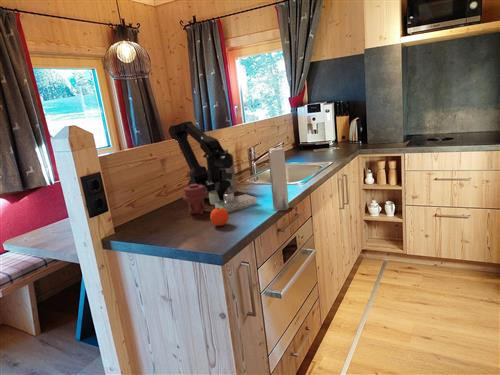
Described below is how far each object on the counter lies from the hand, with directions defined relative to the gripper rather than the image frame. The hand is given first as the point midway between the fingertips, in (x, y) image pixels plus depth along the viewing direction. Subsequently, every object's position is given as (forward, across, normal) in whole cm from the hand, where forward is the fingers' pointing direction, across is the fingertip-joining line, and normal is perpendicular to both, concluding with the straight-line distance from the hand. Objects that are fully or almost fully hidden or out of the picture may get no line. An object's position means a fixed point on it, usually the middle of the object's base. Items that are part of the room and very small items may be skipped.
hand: (218, 200), depth 167 cm
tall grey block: (+1, -31, -13) cm, 34 cm away
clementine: (+1, -29, +14) cm, 32 cm away
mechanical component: (+1, -7, +14) cm, 15 cm away
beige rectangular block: (+1, -13, -2) cm, 13 cm away
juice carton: (+1, +12, -12) cm, 17 cm away
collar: (+1, 0, 0) cm, 1 cm away
